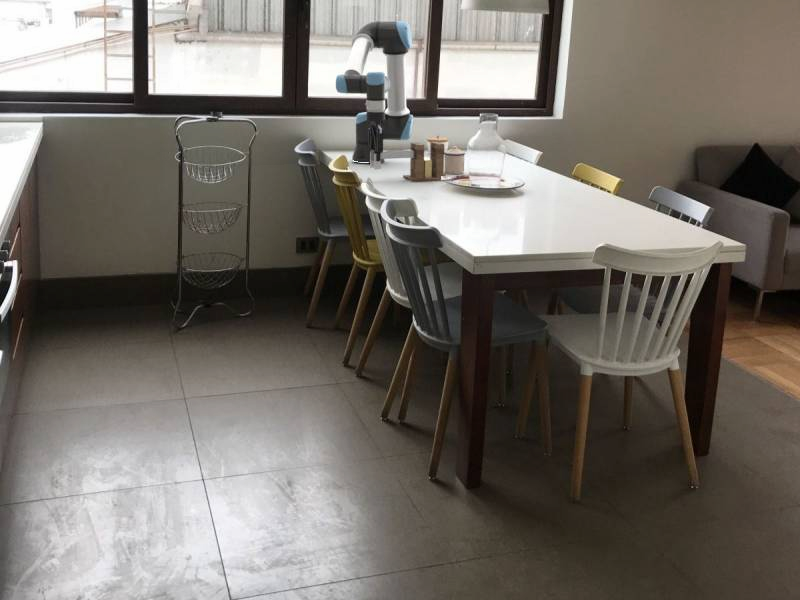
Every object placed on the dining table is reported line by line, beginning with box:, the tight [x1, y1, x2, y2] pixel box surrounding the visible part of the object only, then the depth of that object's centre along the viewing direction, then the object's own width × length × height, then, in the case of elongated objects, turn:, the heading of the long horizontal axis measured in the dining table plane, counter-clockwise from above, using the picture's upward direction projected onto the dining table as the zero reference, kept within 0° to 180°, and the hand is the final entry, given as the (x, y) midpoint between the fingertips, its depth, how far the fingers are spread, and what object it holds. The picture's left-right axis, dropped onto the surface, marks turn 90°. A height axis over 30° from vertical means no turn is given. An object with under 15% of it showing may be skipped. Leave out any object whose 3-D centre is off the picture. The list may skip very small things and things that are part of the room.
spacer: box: [424, 157, 432, 178], centre depth 402 cm, size 7×3×8 cm, turn 20°
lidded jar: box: [426, 134, 450, 153], centre depth 473 cm, size 11×11×9 cm
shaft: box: [371, 148, 416, 161], centre depth 395 cm, size 4×20×4 cm, turn 110°
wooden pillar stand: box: [402, 141, 446, 183], centre depth 401 cm, size 12×17×15 cm
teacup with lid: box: [444, 145, 466, 175], centre depth 419 cm, size 12×9×12 cm
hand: (375, 168), depth 394 cm, fingers closed on shaft, 4 cm apart
